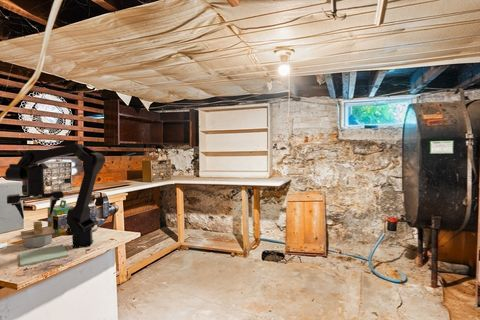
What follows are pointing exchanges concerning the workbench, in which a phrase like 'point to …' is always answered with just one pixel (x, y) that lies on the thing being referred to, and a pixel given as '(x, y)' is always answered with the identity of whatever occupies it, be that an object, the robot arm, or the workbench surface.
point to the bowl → (38, 241)
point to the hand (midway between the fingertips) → (37, 216)
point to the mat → (42, 255)
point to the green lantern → (58, 211)
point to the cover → (37, 231)
